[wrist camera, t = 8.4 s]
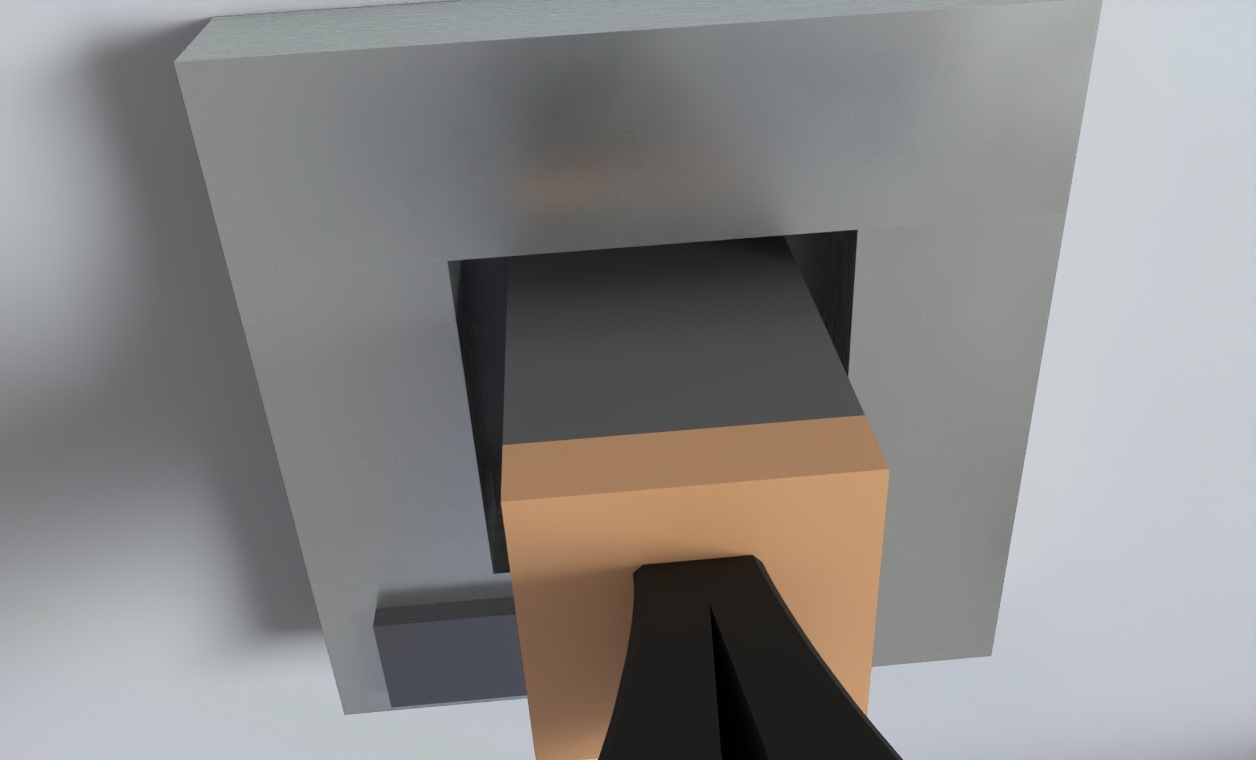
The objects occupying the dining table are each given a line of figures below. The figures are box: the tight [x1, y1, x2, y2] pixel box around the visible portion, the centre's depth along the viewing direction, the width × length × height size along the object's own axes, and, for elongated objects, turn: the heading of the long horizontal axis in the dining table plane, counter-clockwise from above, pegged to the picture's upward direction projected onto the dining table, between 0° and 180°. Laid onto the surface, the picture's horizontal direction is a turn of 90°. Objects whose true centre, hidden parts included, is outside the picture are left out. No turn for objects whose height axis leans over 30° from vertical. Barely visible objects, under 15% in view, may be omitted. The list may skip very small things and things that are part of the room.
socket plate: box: [174, 0, 1102, 715], centre depth 17 cm, size 11×11×2 cm
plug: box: [501, 235, 890, 760], centre depth 15 cm, size 4×4×6 cm
